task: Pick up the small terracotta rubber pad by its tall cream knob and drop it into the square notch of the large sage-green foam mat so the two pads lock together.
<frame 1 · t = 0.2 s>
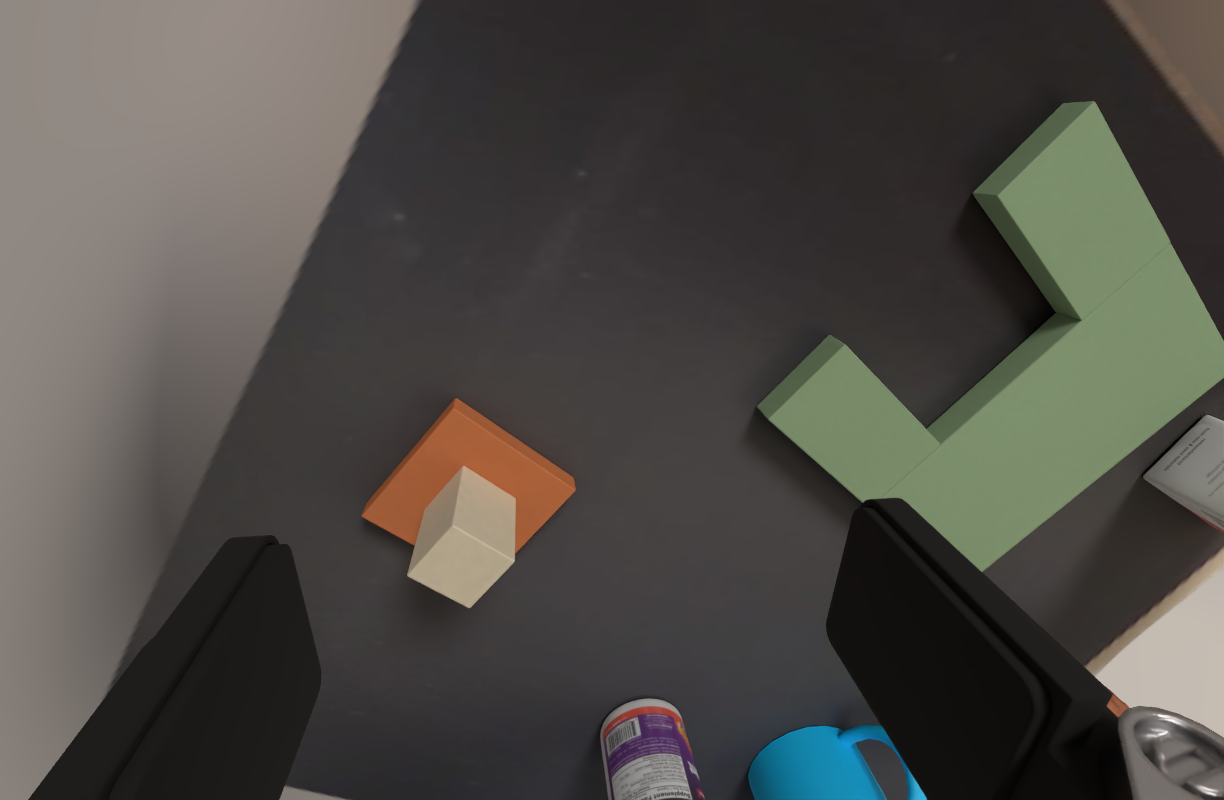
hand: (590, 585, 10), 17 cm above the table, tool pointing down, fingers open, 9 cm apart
terracotta pad: (472, 489, 27), on the table
pill bottle: (640, 721, 36), on the table
ink box: (1203, 470, 34), on the table
mug: (818, 745, 40), on the table
green mat: (992, 380, 29), on the table
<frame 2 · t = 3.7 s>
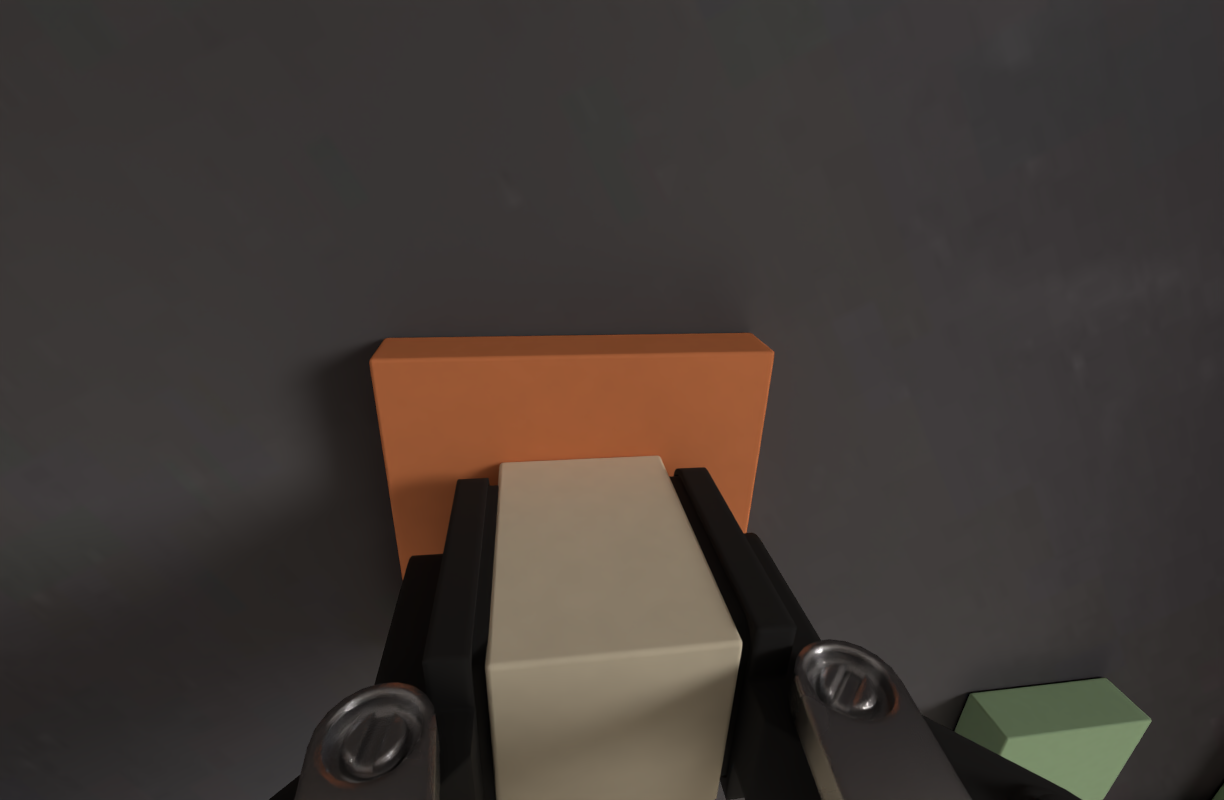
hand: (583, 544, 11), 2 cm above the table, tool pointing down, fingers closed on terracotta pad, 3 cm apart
terracotta pad: (575, 490, 12), on the table, touching gripper
when the fingers open (2 cm above the table, at t = 10.4 s): terracotta pad stays where it is, on the table.
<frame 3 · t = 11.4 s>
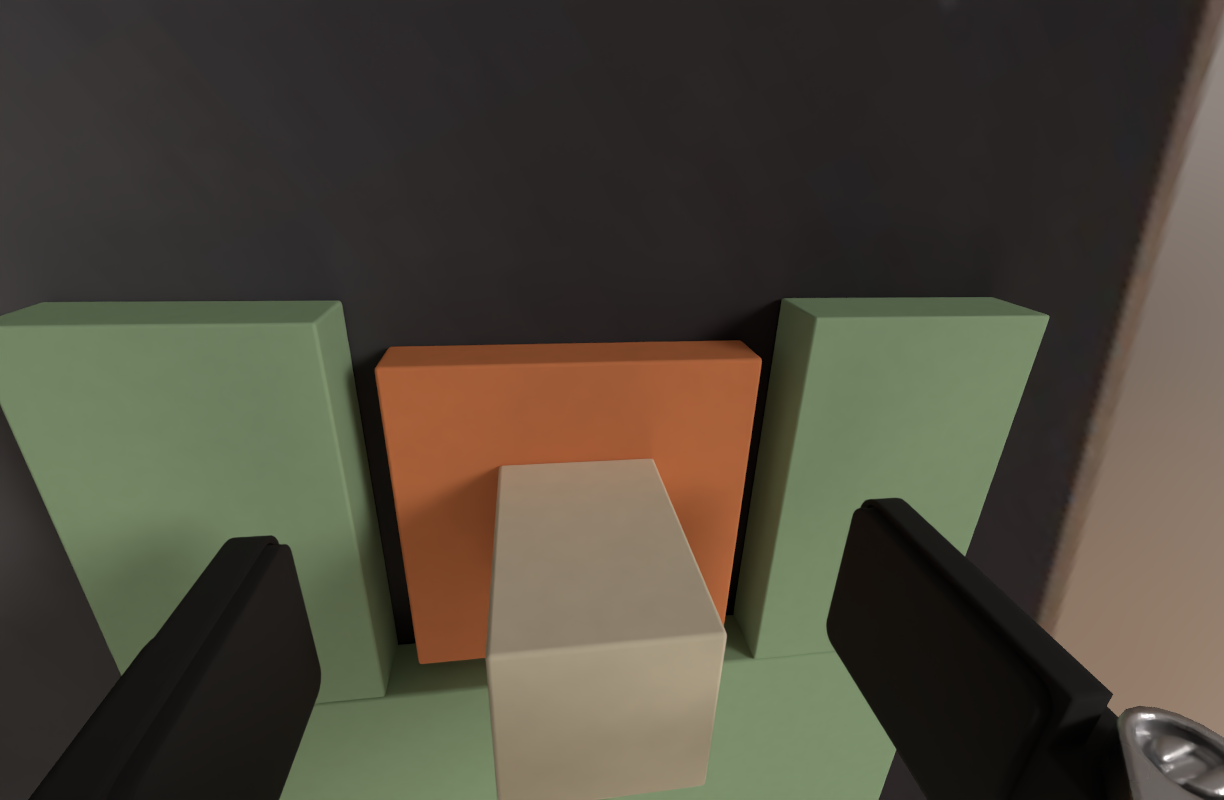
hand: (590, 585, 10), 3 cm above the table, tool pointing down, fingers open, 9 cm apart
terracotta pad: (572, 492, 13), on the table
green mat: (572, 645, 14), on the table
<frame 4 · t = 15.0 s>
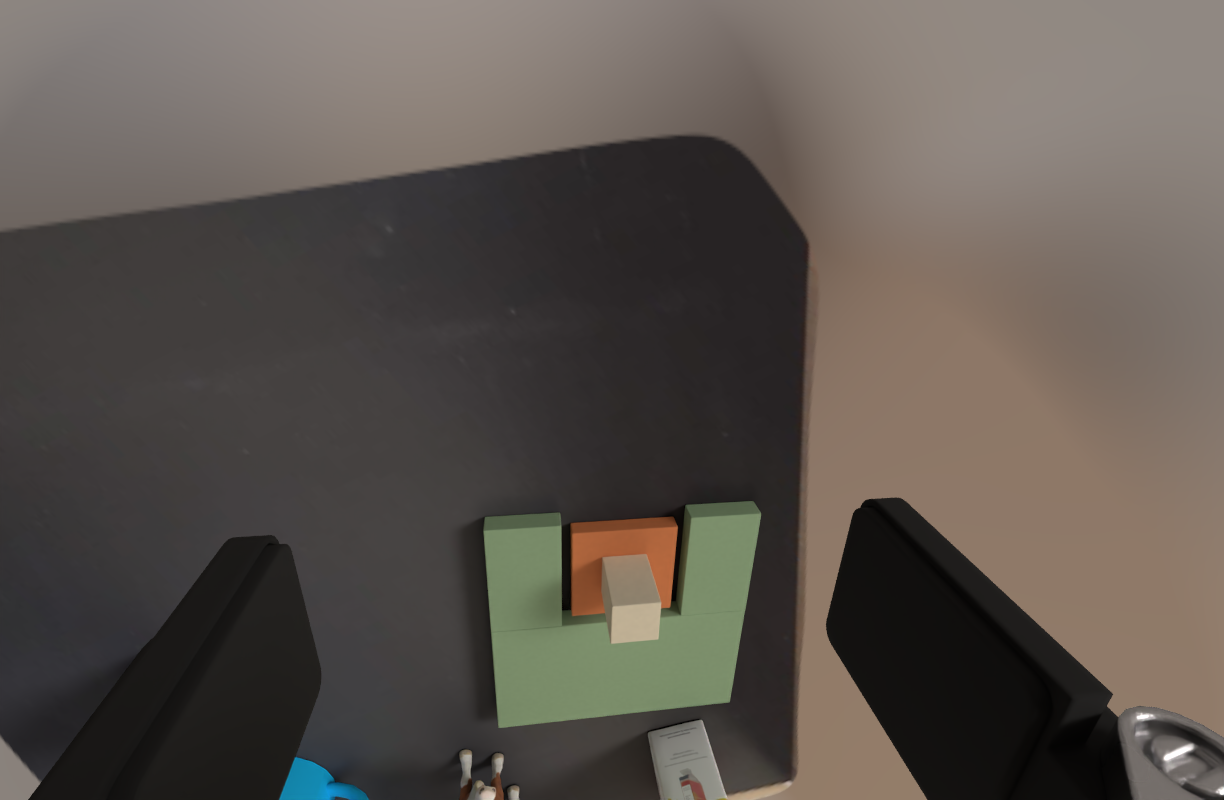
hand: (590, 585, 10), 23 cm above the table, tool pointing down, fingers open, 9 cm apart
terracotta pad: (620, 560, 39), on the table
ink box: (679, 752, 49), on the table
bull figurine: (490, 768, 46), on the table
mug: (306, 782, 44), on the table
green mat: (618, 611, 41), on the table
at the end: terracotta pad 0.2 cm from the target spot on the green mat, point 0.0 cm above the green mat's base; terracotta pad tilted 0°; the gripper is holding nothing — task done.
